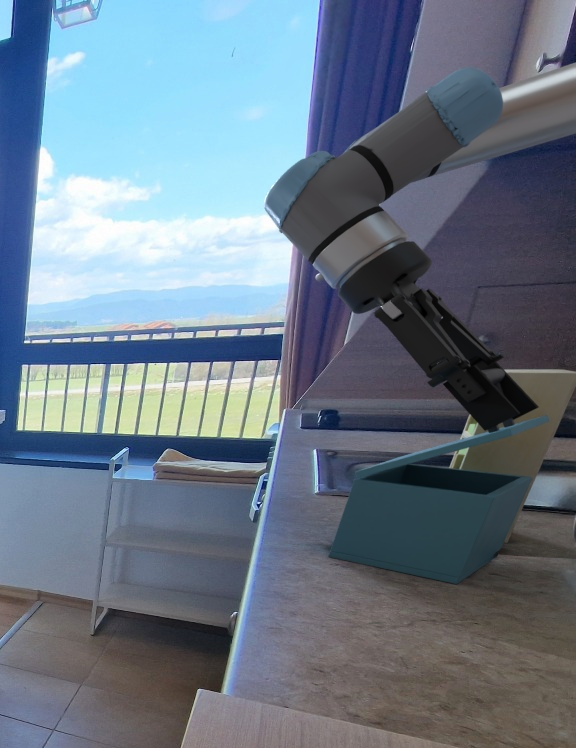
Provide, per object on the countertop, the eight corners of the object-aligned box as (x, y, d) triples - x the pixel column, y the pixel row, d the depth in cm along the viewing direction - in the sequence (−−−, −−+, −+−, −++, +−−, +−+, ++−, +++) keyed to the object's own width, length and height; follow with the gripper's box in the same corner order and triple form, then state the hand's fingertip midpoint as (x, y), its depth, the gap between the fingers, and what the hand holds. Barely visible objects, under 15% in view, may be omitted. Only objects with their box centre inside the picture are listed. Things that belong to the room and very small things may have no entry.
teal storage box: (497, 556, 76) (533, 477, 72) (456, 584, 69) (494, 497, 65) (375, 534, 85) (401, 462, 82) (327, 556, 78) (354, 478, 74)
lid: (549, 421, 70) (526, 358, 71) (512, 435, 63) (486, 365, 63) (403, 462, 81) (384, 407, 82) (356, 478, 74) (335, 417, 74)
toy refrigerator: (417, 526, 88) (479, 368, 80) (493, 534, 84) (566, 368, 76) (423, 540, 83) (490, 372, 74) (504, 550, 78) (584, 372, 70)
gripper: (367, 293, 82) (493, 432, 76) (302, 292, 72) (439, 451, 66) (438, 241, 76) (581, 388, 69) (376, 232, 66) (536, 402, 60)
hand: (512, 418), depth 68 cm, fingers closed on lid, 7 cm apart
